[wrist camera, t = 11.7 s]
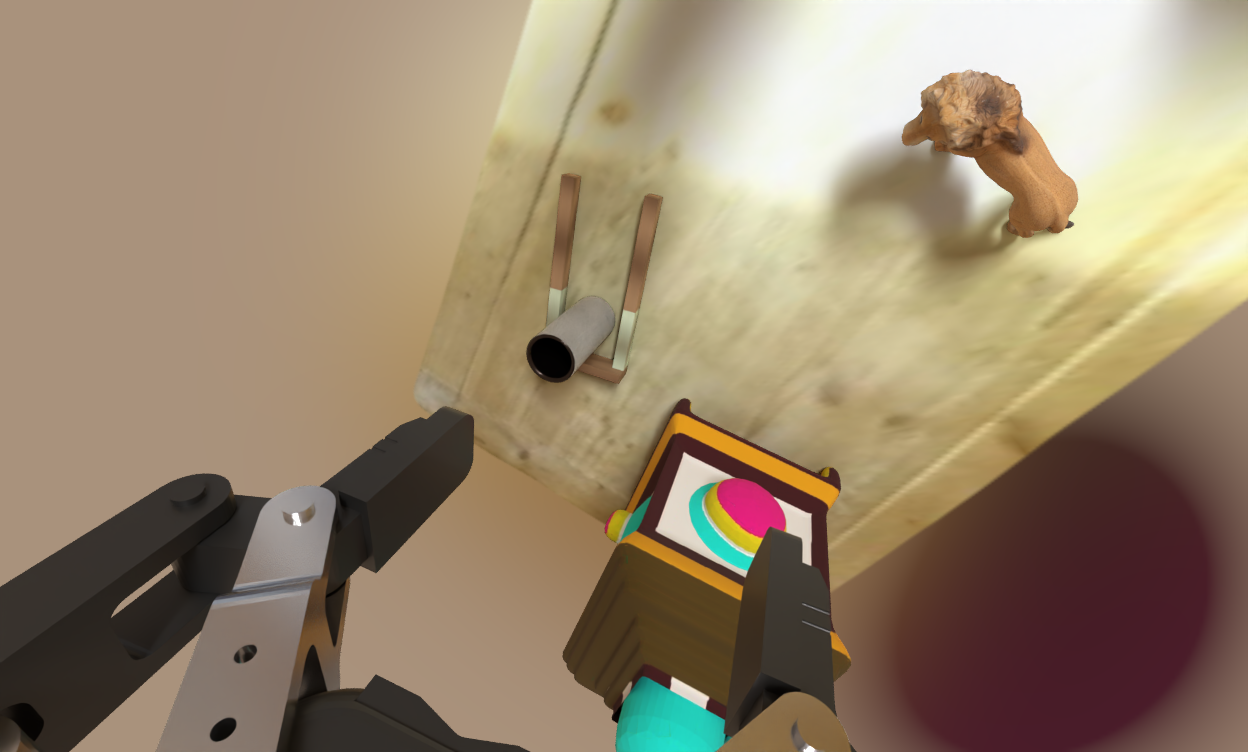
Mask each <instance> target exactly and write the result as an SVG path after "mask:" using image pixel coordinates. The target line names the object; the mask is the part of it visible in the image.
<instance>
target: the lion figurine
mask: <svg viewBox="0 0 1248 752" xmlns="http://www.w3.org/2000/svg"><path fill="white" fill-rule="evenodd" d="M921 94H922V95H921V101H922V103H921V107H922V108H923V110H922V111H921V112H920V114H919V115H918V116H917V117H916V118H915V119H914V120H912V121H910V122H908V123H907V124H906V125H905V127H904V130H903V134H902V142H903V144H904V145H907V146H909V145H911V146H913V145H917V144H919V143H921V142H923V141H924V140H926V139H929V140H931V141H935V150H936V151H947V152H951V153H953V154H955V155H961V156H965V157H974V158H975V160H976V162H977V164H978V165H979V167H980V168H981V169H982V170H983V172H984V173H985V174H986V175H987V176H988V177H989V178H991V179H992V180H993V181H994V182H996V183H997V184H998V185H999V186H1000V187H1002V188H1003V189H1005V190H1006V191H1008V192H1010V193H1011V194H1012V195H1013V197H1014V201H1013V204H1012V206H1011V207H1010V209H1009V219H1010V221H1009V223H1008V224H1007V230H1008V231H1009V232H1011V233H1013V234H1015V235H1019V236H1021V237H1023V238H1028V237H1031V236H1033V235H1034V231H1040V230H1044V229H1046V228H1047V227H1048V231H1049V232H1051V233H1060V232H1062V231H1063V230H1064V229H1066V228H1071V227H1072V226H1073V225H1074V223H1073V222H1071V221H1068V217H1069V215H1070V214H1071V213H1072V212H1073V210H1074V209H1075V207H1076V205H1077V202H1078V194H1077V188H1076V185H1075V183H1074V181H1073V180H1072V179H1071V178H1070V177H1069V176H1067V175H1066V174H1065V173H1064V172H1062V171H1061V169H1060V168H1059V167H1058V166H1057V164H1056V163H1055V161H1054V159H1053V158H1052V156H1051V154H1050V152H1049V150H1048V148H1047V147H1046V145H1045V143H1044V141H1043V139H1042V137H1041V136H1040V134H1039V133H1038V132H1037V130H1036V129H1035V128H1034V127H1033V125H1032V124H1031V123H1030V122H1029V121H1028V120H1027V119H1026V118H1024V117H1023V113H1022V106H1021V102H1022V101H1021V96H1020V94H1019V91H1018V90H1016V89H1015V85H1014V84H1009V83H1006V82H1004V81H1002V80H1001V78H1000V77H999V76H992V75H989V74H988V73H986V72H985V73H982V74H981V73H980V72H975V71H972V70H967V71H965V72H963V73H950V74H949V75H946V76H943V77H942V79H941V80H940V81H938V82H936V83H935V84H933V85H931V86H929V87H927V88H926V89H925V90H923V91H922V92H921Z"/></svg>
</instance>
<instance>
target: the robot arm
mask: <svg viewBox="0 0 1248 752" xmlns="http://www.w3.org/2000/svg"><path fill="white" fill-rule="evenodd" d="M473 446H474V419H473V417H472V416H471V415H469V414H467V413H464V412H461V411H458V410H456V409H453V408H450V407H447V406H445V407H442V408H440V409H439V410H438V411H437V412H435V413H434V414H433V415H432V416H430V417H429V418H428V419H424V418H421V417H420V418H418V419H415V420H413V421H410V422H407V423H405V424H402V425H400V426H399V427H397V428H396V429H395V430H394V431H392V432H391V433H390V434H389V435H387V436H386V437H385V439H384V440H383V439H382V440H380V441H379V442H378V443H377V444H375V445H374V446H373V448H372V449H369V450H367V451H366V452H365V453H363V454H362V455H361V456H359V457H358V458H357V459H355V460H354V461H353V462H352V463H350V464H349V465H348V466H346V467H345V468H344V469H342V470H341V471H340V472H338V473H337V474H336V475H334V476H333V477H332V478H330V479H329V480H328V481H327V482H325V483H324V484H323V485H321V486H320V487H319V486H301V487H296V488H292V489H289V490H286V491H284V492H282V493H280V494H278V495H276V496H275V497H273V498H263V497H253V496H243V495H234V494H233V491H232V488H231V485H230V483H229V481H228V480H227V479H226V478H224V477H222V476H220V475H216V474H195V475H190V476H186V477H182V478H180V479H177V480H174V481H172V482H170V483H168V484H166V485H164V486H162V487H161V488H159V489H158V490H156V491H154V492H153V493H151V494H149V495H148V496H146V497H144V498H143V499H141V500H140V501H138V502H136V503H135V504H133V505H132V506H130V507H128V508H127V509H125V510H124V511H122V512H120V513H119V514H117V515H115V516H114V517H112V518H111V519H109V520H107V521H106V522H104V523H103V524H101V525H99V526H98V527H96V528H94V529H93V530H91V531H90V532H88V533H86V534H85V535H83V536H81V537H80V538H78V539H77V540H75V541H73V542H72V543H70V544H69V545H67V546H65V547H64V548H62V549H61V550H59V551H57V552H56V553H54V554H53V555H51V556H49V557H48V558H46V559H44V560H43V561H41V562H40V563H38V564H36V565H35V566H33V567H31V568H30V569H28V570H27V571H25V572H24V573H22V574H20V575H19V576H17V577H15V578H14V579H12V580H10V581H9V582H8V583H6V584H4V585H2V586H1V587H0V752H69V751H70V750H72V749H73V748H74V747H75V746H76V745H77V744H78V743H79V742H80V741H81V740H83V739H84V738H85V737H86V736H87V735H88V734H89V733H90V732H91V731H92V730H93V729H95V728H96V727H97V726H98V725H99V724H100V723H101V722H102V721H103V720H104V719H105V718H107V717H108V716H109V715H110V714H111V713H112V712H113V711H114V710H115V709H116V708H117V707H119V706H120V705H121V704H122V703H123V702H124V701H125V700H126V699H127V698H128V697H130V696H131V695H132V694H133V693H134V692H135V691H136V690H137V689H138V688H139V687H140V686H142V685H143V684H144V683H145V682H146V681H147V680H148V679H149V678H150V677H151V676H152V675H153V674H155V673H156V672H157V671H158V670H159V669H160V668H161V667H162V666H163V665H164V664H165V663H167V662H168V661H169V660H170V659H171V658H172V657H173V656H174V655H175V654H176V653H177V652H178V651H180V650H181V649H182V648H183V647H184V646H185V645H186V644H187V643H188V642H190V641H191V640H192V639H193V638H194V637H195V636H196V635H197V634H198V633H199V632H200V631H201V634H200V636H199V639H198V641H197V644H196V647H195V649H194V652H193V655H192V657H191V661H190V663H189V665H188V668H187V670H186V673H185V676H184V678H183V681H182V684H181V686H180V689H179V691H178V694H177V697H176V700H175V702H174V705H173V707H172V710H171V712H170V715H169V718H168V720H167V723H166V726H165V728H164V731H163V733H162V736H161V739H160V741H159V744H158V747H157V749H156V752H529V751H527V750H525V749H523V748H521V747H520V746H516V745H509V744H503V743H496V742H489V741H483V740H476V739H469V738H464V737H461V736H459V735H457V734H456V733H455V732H454V731H453V730H452V729H451V728H450V727H449V726H448V725H447V724H446V723H445V722H444V721H443V720H442V719H441V718H440V717H439V716H438V715H437V713H436V712H434V710H433V709H432V708H431V707H430V706H429V705H428V704H427V703H426V702H425V701H424V700H423V699H422V698H421V697H420V696H418V695H416V694H414V693H412V692H410V691H408V690H406V689H404V688H402V687H400V686H398V685H396V684H394V683H392V682H390V681H388V680H386V679H384V678H382V677H380V676H378V675H375V676H374V677H373V679H372V680H371V681H370V682H369V684H368V685H367V687H366V688H365V689H361V688H350V689H349V688H346V689H340V653H341V645H342V638H343V631H344V624H345V617H346V610H347V603H348V596H349V588H350V575H352V574H353V573H354V572H355V571H356V570H357V569H358V568H359V566H362V567H364V568H366V569H369V570H370V571H373V572H375V573H377V572H378V571H379V570H380V569H381V567H383V566H384V564H385V563H386V562H387V561H388V560H389V559H390V558H391V557H392V556H393V555H394V554H395V553H396V552H397V551H398V550H399V549H400V547H401V546H402V545H403V544H404V543H405V542H406V541H407V540H408V539H409V538H410V537H411V536H412V535H413V534H414V533H415V532H416V530H417V529H418V528H419V527H420V526H421V525H422V524H423V523H424V522H425V521H426V520H427V519H428V518H429V517H430V516H431V514H432V513H433V512H434V511H435V510H436V509H437V508H438V507H439V506H440V505H441V504H442V503H443V502H444V501H445V500H446V499H447V497H448V496H449V495H450V494H451V493H452V492H453V491H454V490H455V489H456V488H457V487H458V486H459V485H460V484H461V482H463V480H464V479H465V478H466V476H467V475H468V473H469V471H470V469H471V466H472V463H473ZM170 564H171V565H172V567H173V569H174V570H173V571H172V572H170V573H169V574H168V575H166V576H165V577H164V578H162V579H161V580H160V581H159V582H158V583H156V584H155V585H153V586H152V587H151V588H150V589H148V590H147V591H146V592H144V593H143V594H142V595H141V596H139V597H138V598H137V599H135V600H134V601H133V602H132V603H130V604H129V605H127V606H126V607H125V608H124V609H122V610H121V611H120V612H119V613H117V614H116V615H114V616H113V617H112V618H111V616H112V614H113V612H114V610H115V609H116V607H117V606H118V605H119V604H120V603H121V602H122V601H123V600H124V599H125V598H127V597H128V596H129V595H130V594H132V593H133V592H134V591H136V590H137V589H138V588H140V587H141V586H142V585H144V584H145V583H146V582H148V581H149V580H150V579H152V578H153V577H154V576H155V575H157V574H158V573H159V572H161V571H162V570H163V569H165V568H166V567H167V566H169V565H170ZM829 614H830V600H829V590H828V588H827V585H826V583H825V581H824V579H823V577H822V574H821V572H820V570H819V569H818V568H816V567H813V566H810V565H808V564H805V563H803V542H802V538H801V537H798V536H795V535H792V534H790V533H787V532H784V531H781V530H779V529H776V528H773V527H769V528H768V530H767V531H766V533H765V535H764V538H763V540H762V542H761V544H760V546H759V548H758V550H757V552H756V554H755V556H754V558H753V560H752V563H751V565H750V567H749V569H748V572H747V575H746V578H745V582H744V586H743V591H742V598H741V605H740V613H739V620H738V628H737V635H736V643H735V650H734V658H733V665H732V673H731V680H730V688H729V696H728V703H727V711H726V718H725V726H724V734H726V735H728V736H730V737H732V738H731V739H730V740H729V741H727V742H726V743H725V744H724V745H723V746H721V747H720V748H719V749H718V750H717V751H715V752H856V751H855V749H854V748H853V747H852V745H851V744H850V742H849V740H848V737H847V734H846V732H845V730H844V728H843V726H842V724H841V723H840V721H839V719H838V718H837V715H836V711H835V701H834V684H833V683H834V681H833V661H832V641H831V635H830V632H831V621H830V617H829Z"/></svg>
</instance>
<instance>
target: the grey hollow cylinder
mask: <svg viewBox="0 0 1248 752" xmlns="http://www.w3.org/2000/svg"><path fill="white" fill-rule="evenodd" d="M614 325H615V315H614V312H613V310H612V308H611V306H610V305H609V304H608V303H607V302H606V301H605V300H603V299H601V298H599V297H596V296H587V297H584V298H582V299H581V300H579V301H578V302H577V303H575V304H574V305H573V306H572V307H570V308H569V309H568V310H567V311H565V312H564V313H563V314H562V315H560V316H559V317H558V318H557V319H556V320H554V321H553V322H552V323H551V324H549V325H548V326H547V327H546V328H544V329H543V330H542V331H541V332H540V333H538V334H537V335H536V336H535V337H533V338H532V339H531V340H530V342H529V344H528V346H527V351H526V355H527V360H528V363H529V365H530V367H531V368H532V370H533V371H534V372H535V373H536V374H537V375H538V376H539V377H540V378H542V379H544V380H546V381H549V382H554V383H559V382H563V381H566V380H568V379H569V378H570V377H571V376H572V375H573V374H574V373H575V372H576V370H577V369H578V368H579V367H580V366H581V365H582V364H583V363H584V362H585V361H586V359H587V358H588V357H589V356H590V355H591V354H592V353H593V352H594V351H595V349H596V348H597V347H598V346H599V345H600V344H601V343H602V342H603V341H604V339H605V338H606V337H607V336H608V335H609V334H610V333H611V331H612V330H613V328H614Z"/></svg>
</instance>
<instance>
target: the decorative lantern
mask: <svg viewBox="0 0 1248 752" xmlns="http://www.w3.org/2000/svg"><path fill="white" fill-rule="evenodd" d="M840 490H841V484H840V477H839V474H838V472H837V471H836V470H835V469H834V468H832V467H827V468H825V469H824V470H823V471H822V473H821V475H819V474H816V473H814V472H812V471H810V470H808V469H806V468H804V467H802V466H800V465H798V464H795V463H793V462H791V461H789V460H787V459H785V458H783V457H781V456H779V455H777V454H775V453H772V452H770V451H768V450H766V449H764V448H762V447H760V446H758V445H756V444H754V443H751V442H749V441H747V440H745V439H743V438H741V437H739V436H737V435H735V434H733V433H731V432H728V431H726V430H724V429H722V428H720V427H718V426H716V425H714V424H712V423H710V422H707V421H705V420H703V419H701V418H699V417H698V416H696V415H694V414H693V413H692V412H691V402H690V400H689V399H685V398H684V399H681V400H680V401H679V402H678V404H677V405H676V407H675V409H674V411H673V413H672V415H671V417H670V419H669V421H668V424H667V426H666V428H665V430H664V432H663V434H662V436H661V438H660V440H659V442H658V444H657V446H656V448H655V450H654V452H653V454H652V456H651V458H650V460H649V463H648V465H647V467H646V469H645V471H644V473H643V475H642V477H641V479H640V481H639V483H638V485H637V487H636V489H635V491H634V493H633V495H632V497H631V499H630V501H629V504H628V506H627V507H626V509H625V510H617V511H615V512H613V513H612V515H611V516H610V517H609V519H608V521H607V523H606V526H605V534H606V535H607V537H608V538H610V539H611V540H612V541H614V542H616V543H617V546H616V548H615V550H614V552H613V554H612V556H611V558H610V560H609V562H608V564H607V566H606V568H605V570H604V572H603V574H602V576H601V578H600V580H599V582H598V584H597V586H596V588H595V590H594V592H593V594H592V596H591V598H590V600H589V602H588V604H587V606H586V607H585V609H584V612H583V613H582V615H581V617H580V619H579V622H578V623H577V625H576V628H575V629H574V631H573V633H572V636H571V638H570V639H569V641H568V643H567V645H566V647H565V649H564V651H563V660H564V661H565V662H566V663H567V668H568V670H569V671H570V672H571V673H573V674H574V678H575V680H576V681H577V682H578V683H579V684H581V685H582V686H584V687H586V688H588V689H589V690H591V691H593V692H595V693H596V694H598V695H600V696H602V697H603V698H604V702H605V704H606V705H607V706H608V707H609V708H610V709H612V710H613V715H612V720H613V721H615V722H616V723H618V725H617V733H616V744H615V746H616V752H715V751H717V750H718V749H719V748H720V747H721V746H723V745H724V744H725V743H726V742H727V741H729V740H730V739H731V738H732V737H730V736H728V735H726V734H724V726H725V718H726V711H727V703H728V696H729V688H730V680H731V673H732V665H733V658H734V650H735V643H736V635H737V628H738V620H739V613H740V605H741V598H742V591H743V586H744V582H745V578H746V575H747V572H748V569H749V567H750V565H751V563H752V560H753V558H754V556H755V554H756V552H757V550H758V548H759V546H760V544H761V542H762V540H763V538H764V535H765V533H766V531H767V530H768V528H769V527H773V528H776V529H779V530H781V531H784V532H787V533H790V534H792V535H795V536H798V537H801V538H802V542H803V563H805V564H808V565H810V566H813V567H816V568H818V569H819V570H820V572H821V574H822V577H823V579H824V581H825V583H826V585H827V588H828V590H829V600H830V582H829V562H828V543H827V523H826V514H827V511H828V510H829V509H830V508H831V506H832V505H833V503H834V502H835V500H836V499H837V497H838V496H839V493H840ZM829 617H830V621H831V632H830V635H831V641H832V661H833V681H836V680H837V679H838V678H839V677H841V676H842V675H843V674H844V673H845V672H847V670H848V669H849V667H850V666H851V659H850V657H849V654H848V652H847V650H846V648H845V647H844V645H843V644H842V642H841V640H840V639H839V637H838V636H837V634H836V633H835V630H834V628H833V624H832V620H831V603H830V614H829Z"/></svg>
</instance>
